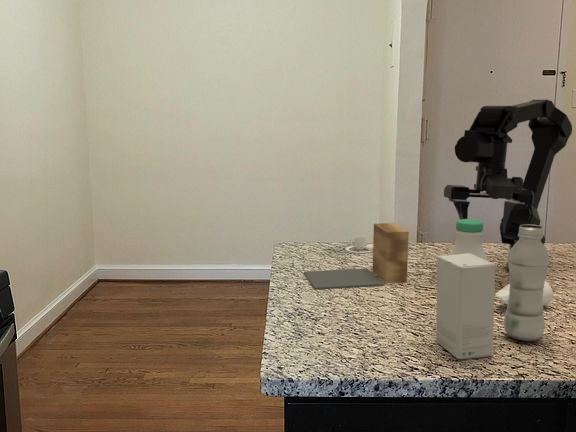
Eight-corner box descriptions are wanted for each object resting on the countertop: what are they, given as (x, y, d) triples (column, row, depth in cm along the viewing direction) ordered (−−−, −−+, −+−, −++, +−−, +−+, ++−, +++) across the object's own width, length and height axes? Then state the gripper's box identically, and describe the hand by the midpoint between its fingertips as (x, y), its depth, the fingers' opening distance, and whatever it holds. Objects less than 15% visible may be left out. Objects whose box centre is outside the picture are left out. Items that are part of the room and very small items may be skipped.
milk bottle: (488, 323, 109) (495, 218, 105) (483, 338, 102) (490, 226, 99) (446, 317, 112) (451, 215, 109) (438, 331, 106) (443, 223, 102)
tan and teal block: (392, 270, 144) (393, 222, 142) (406, 282, 135) (408, 231, 132) (372, 271, 144) (373, 223, 141) (385, 283, 134) (387, 232, 132)
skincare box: (493, 357, 95) (499, 264, 92) (455, 361, 93) (460, 267, 90) (467, 337, 103) (472, 251, 100) (432, 340, 101) (436, 253, 99)
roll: (484, 307, 118) (486, 281, 117) (529, 300, 123) (531, 274, 121) (505, 317, 113) (507, 289, 111) (552, 309, 117) (554, 282, 116)
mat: (366, 269, 145) (366, 268, 145) (383, 285, 132) (384, 283, 132) (303, 273, 142) (303, 271, 142) (314, 289, 130) (314, 287, 130)
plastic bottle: (547, 346, 99) (557, 231, 95) (505, 343, 100) (513, 229, 96) (539, 332, 105) (548, 223, 101) (499, 329, 106) (507, 222, 102)
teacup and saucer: (381, 250, 166) (381, 236, 166) (369, 256, 160) (369, 241, 159) (353, 246, 171) (353, 232, 170) (340, 251, 164) (340, 237, 164)
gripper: (463, 162, 121) (455, 236, 124) (550, 167, 122) (541, 240, 125) (446, 160, 132) (439, 227, 135) (526, 164, 133) (518, 231, 136)
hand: (484, 231), depth 132 cm, fingers open, 9 cm apart
